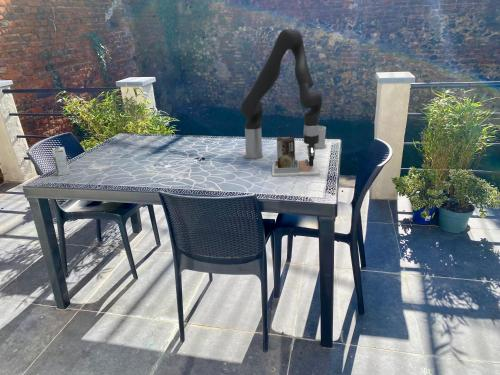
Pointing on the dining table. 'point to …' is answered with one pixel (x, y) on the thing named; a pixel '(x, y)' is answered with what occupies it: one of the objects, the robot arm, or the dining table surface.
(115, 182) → the dining table surface
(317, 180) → the dining table surface
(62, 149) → the syrup box
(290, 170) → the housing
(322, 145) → the cup
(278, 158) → the coffee box
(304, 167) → the pink rectangular block
